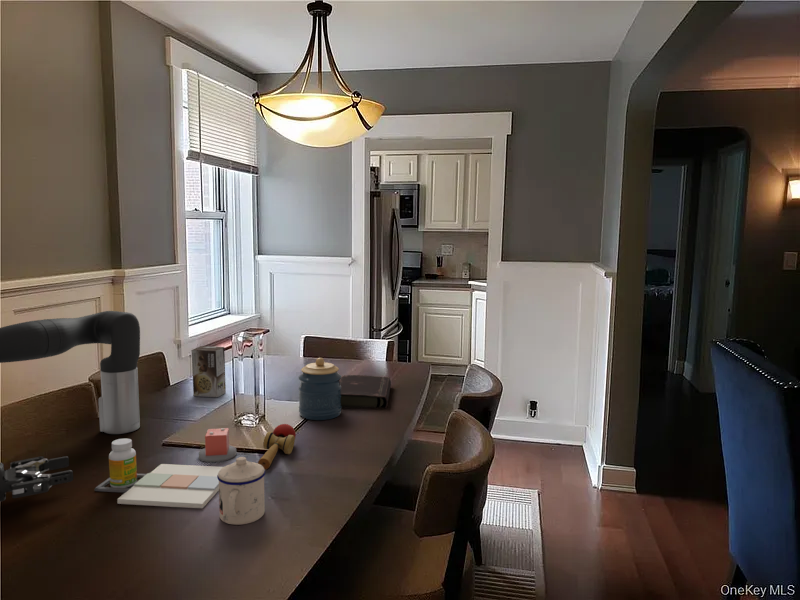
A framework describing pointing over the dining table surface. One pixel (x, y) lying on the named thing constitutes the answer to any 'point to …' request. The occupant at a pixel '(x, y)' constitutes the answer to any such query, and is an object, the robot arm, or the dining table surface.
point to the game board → (171, 486)
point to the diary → (364, 391)
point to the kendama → (277, 443)
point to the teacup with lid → (241, 492)
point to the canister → (320, 391)
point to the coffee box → (208, 371)
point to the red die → (217, 446)
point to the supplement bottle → (122, 464)
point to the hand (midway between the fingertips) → (70, 467)
